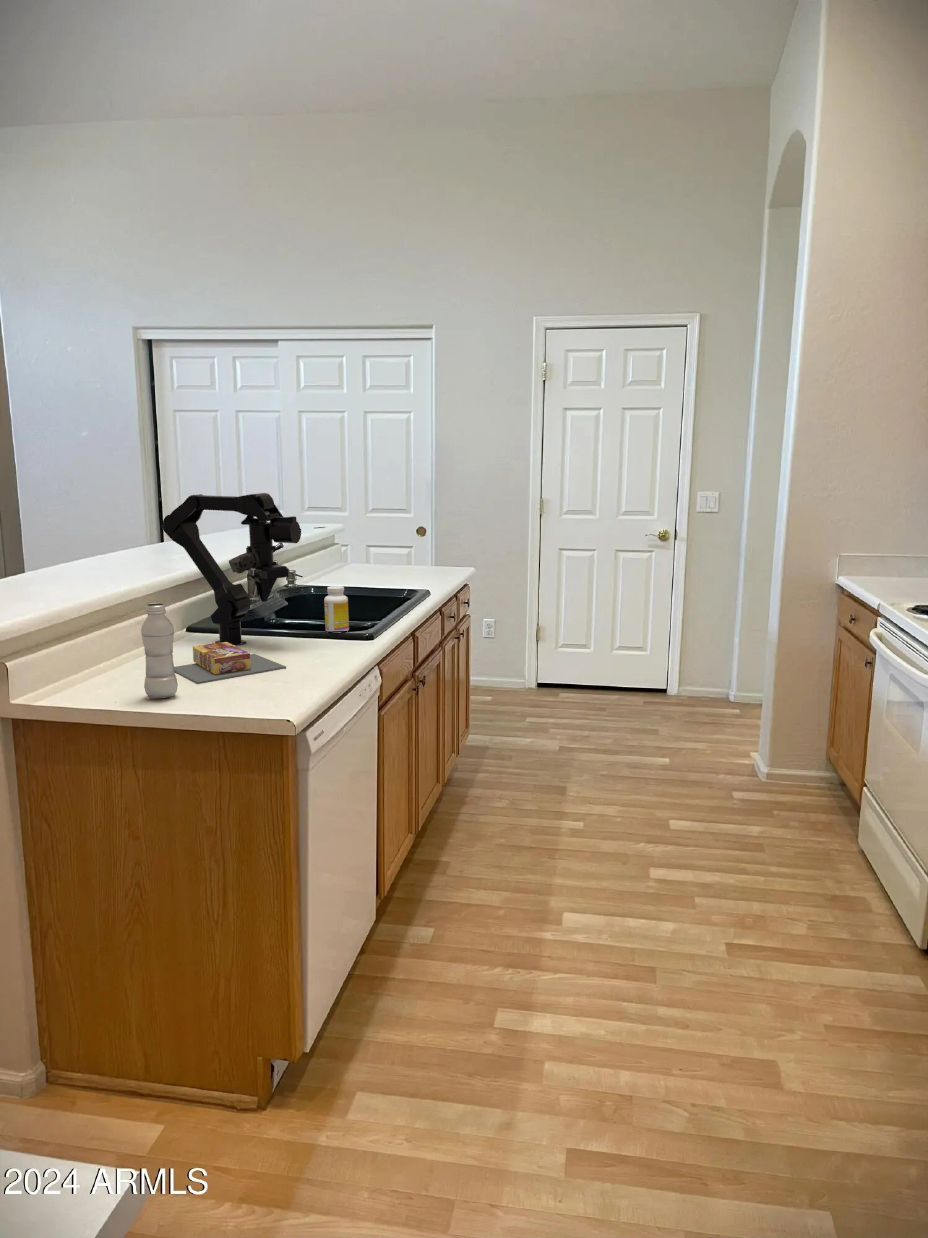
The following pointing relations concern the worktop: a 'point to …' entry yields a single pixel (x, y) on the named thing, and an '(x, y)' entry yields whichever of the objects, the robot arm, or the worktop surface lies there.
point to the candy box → (221, 658)
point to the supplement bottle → (336, 609)
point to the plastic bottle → (158, 653)
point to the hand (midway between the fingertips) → (264, 601)
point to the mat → (203, 675)
